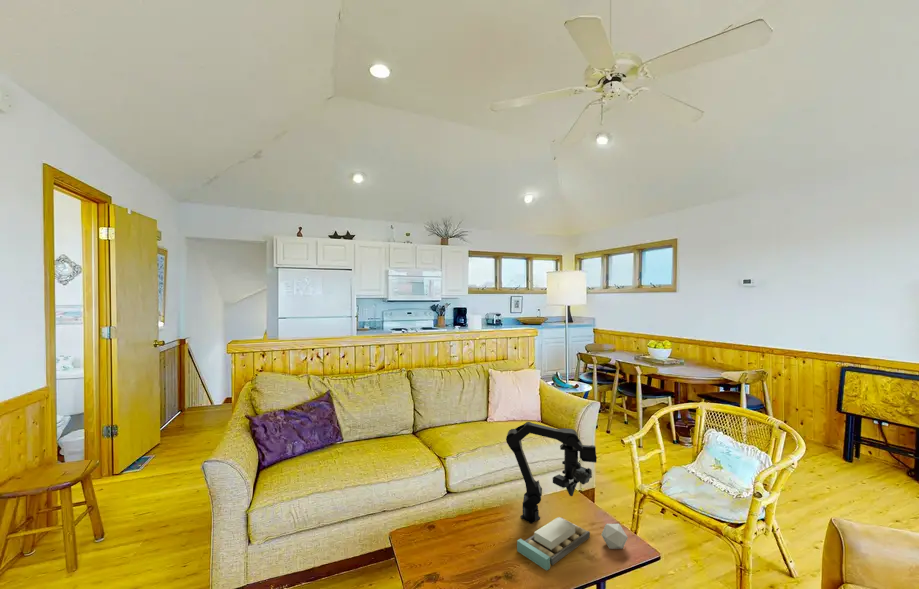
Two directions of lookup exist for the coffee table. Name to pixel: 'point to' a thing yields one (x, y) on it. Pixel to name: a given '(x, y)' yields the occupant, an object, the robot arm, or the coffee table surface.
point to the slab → (554, 533)
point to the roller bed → (562, 544)
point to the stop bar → (533, 554)
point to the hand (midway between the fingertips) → (571, 495)
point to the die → (614, 536)
